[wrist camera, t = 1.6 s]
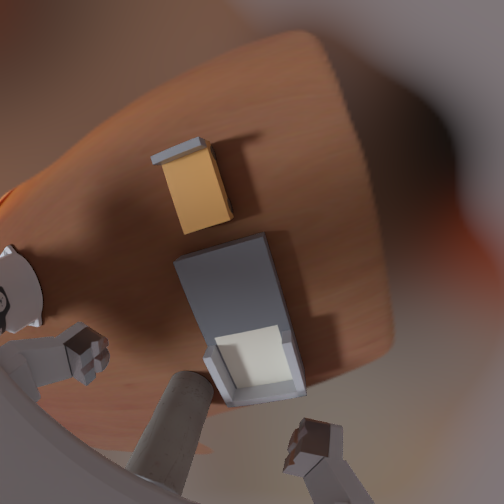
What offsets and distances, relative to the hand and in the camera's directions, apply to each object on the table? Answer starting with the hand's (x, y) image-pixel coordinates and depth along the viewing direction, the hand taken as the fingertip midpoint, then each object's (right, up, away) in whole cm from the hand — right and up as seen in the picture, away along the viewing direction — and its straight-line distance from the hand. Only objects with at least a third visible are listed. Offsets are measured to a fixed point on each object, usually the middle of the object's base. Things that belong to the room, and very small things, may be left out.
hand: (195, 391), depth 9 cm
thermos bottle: (-9, -19, +35) cm, 41 cm away
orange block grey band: (-4, +14, +26) cm, 29 cm away
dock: (+1, -4, +30) cm, 30 cm away
